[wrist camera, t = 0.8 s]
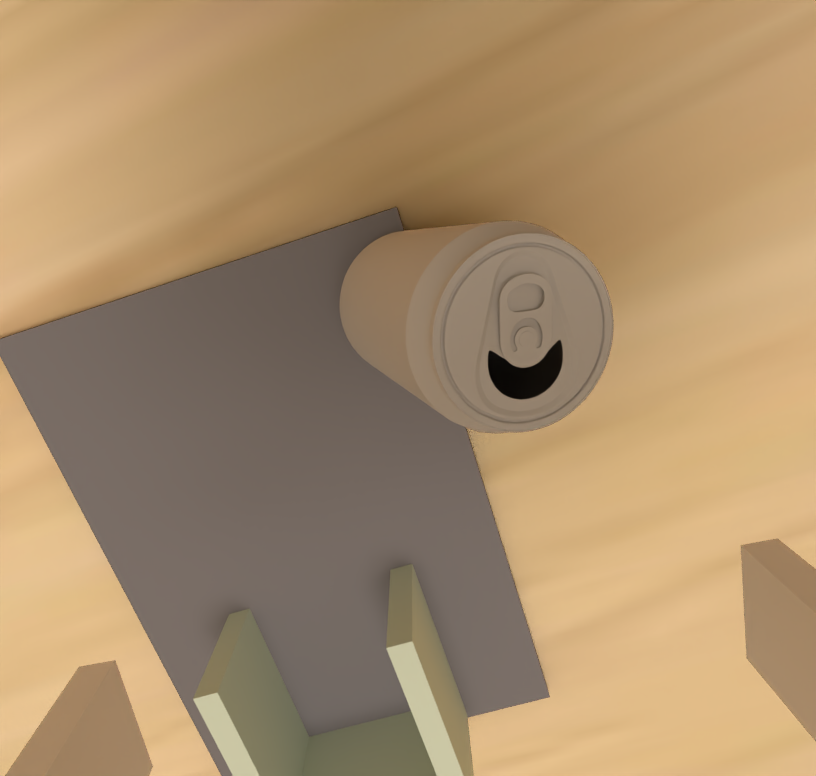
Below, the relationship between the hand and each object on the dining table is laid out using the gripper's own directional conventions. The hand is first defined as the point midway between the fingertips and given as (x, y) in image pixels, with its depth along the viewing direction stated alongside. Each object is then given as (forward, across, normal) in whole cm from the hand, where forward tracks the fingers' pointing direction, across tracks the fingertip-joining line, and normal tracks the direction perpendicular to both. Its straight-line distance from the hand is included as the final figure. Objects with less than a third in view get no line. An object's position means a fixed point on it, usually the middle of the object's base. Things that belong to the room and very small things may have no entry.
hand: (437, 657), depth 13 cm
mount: (+20, -7, -6) cm, 21 cm away
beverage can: (+18, +1, +5) cm, 19 cm away
